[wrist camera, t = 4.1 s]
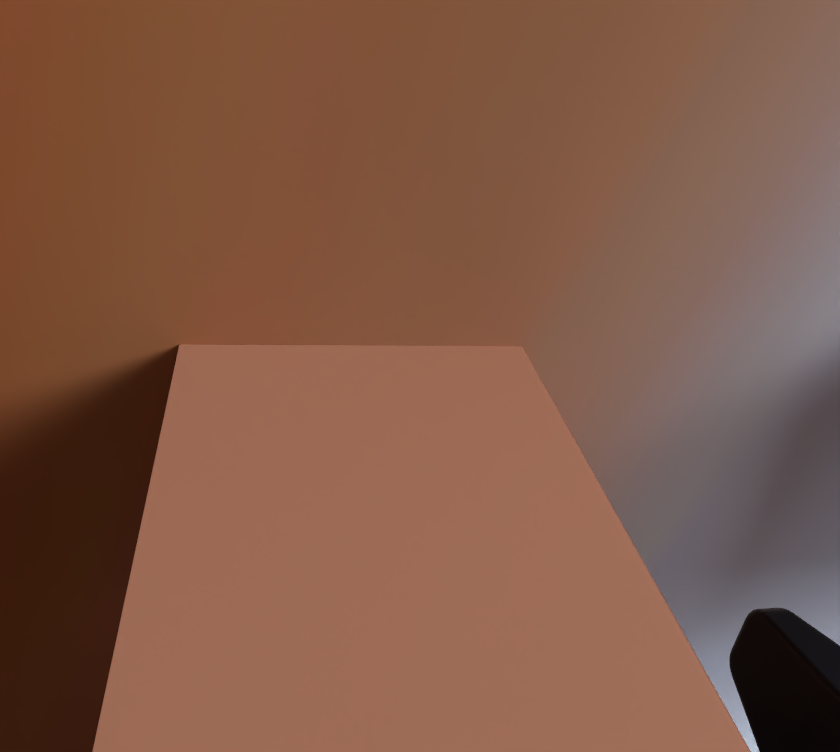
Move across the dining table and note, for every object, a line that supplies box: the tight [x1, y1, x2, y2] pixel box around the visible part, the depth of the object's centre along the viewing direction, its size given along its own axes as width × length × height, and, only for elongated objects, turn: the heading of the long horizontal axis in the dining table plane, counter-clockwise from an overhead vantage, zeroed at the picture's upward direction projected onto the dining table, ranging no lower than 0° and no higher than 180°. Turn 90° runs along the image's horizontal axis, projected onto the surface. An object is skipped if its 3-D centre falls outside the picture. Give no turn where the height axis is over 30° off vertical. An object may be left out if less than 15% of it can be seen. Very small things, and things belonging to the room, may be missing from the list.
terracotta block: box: [92, 345, 751, 752], centre depth 9 cm, size 4×4×6 cm
